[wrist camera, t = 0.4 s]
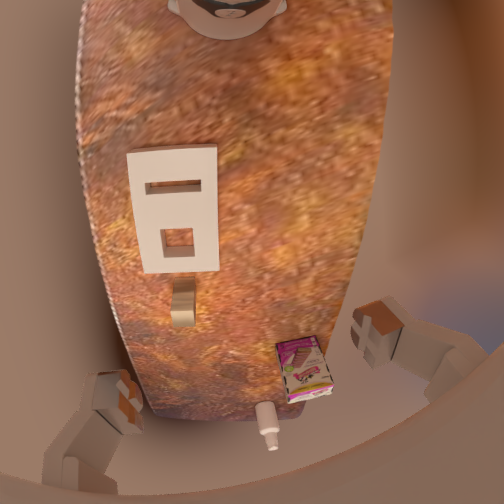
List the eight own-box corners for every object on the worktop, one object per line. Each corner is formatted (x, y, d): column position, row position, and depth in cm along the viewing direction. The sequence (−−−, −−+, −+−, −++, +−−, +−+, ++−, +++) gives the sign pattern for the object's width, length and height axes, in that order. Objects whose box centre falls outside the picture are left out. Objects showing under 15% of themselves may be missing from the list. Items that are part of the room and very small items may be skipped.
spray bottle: (254, 409, 88) (262, 453, 73) (255, 401, 85) (263, 447, 70) (272, 407, 89) (282, 450, 74) (275, 399, 86) (285, 444, 71)
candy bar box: (315, 334, 70) (335, 384, 56) (314, 345, 72) (332, 394, 58) (274, 342, 69) (287, 395, 55) (274, 353, 72) (287, 405, 58)
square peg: (175, 277, 55) (170, 311, 46) (194, 276, 55) (193, 310, 47) (177, 292, 57) (173, 326, 48) (196, 292, 57) (195, 326, 49)
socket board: (133, 149, 41) (126, 153, 37) (216, 143, 42) (217, 147, 39) (148, 261, 52) (144, 273, 48) (218, 258, 54) (219, 270, 50)
